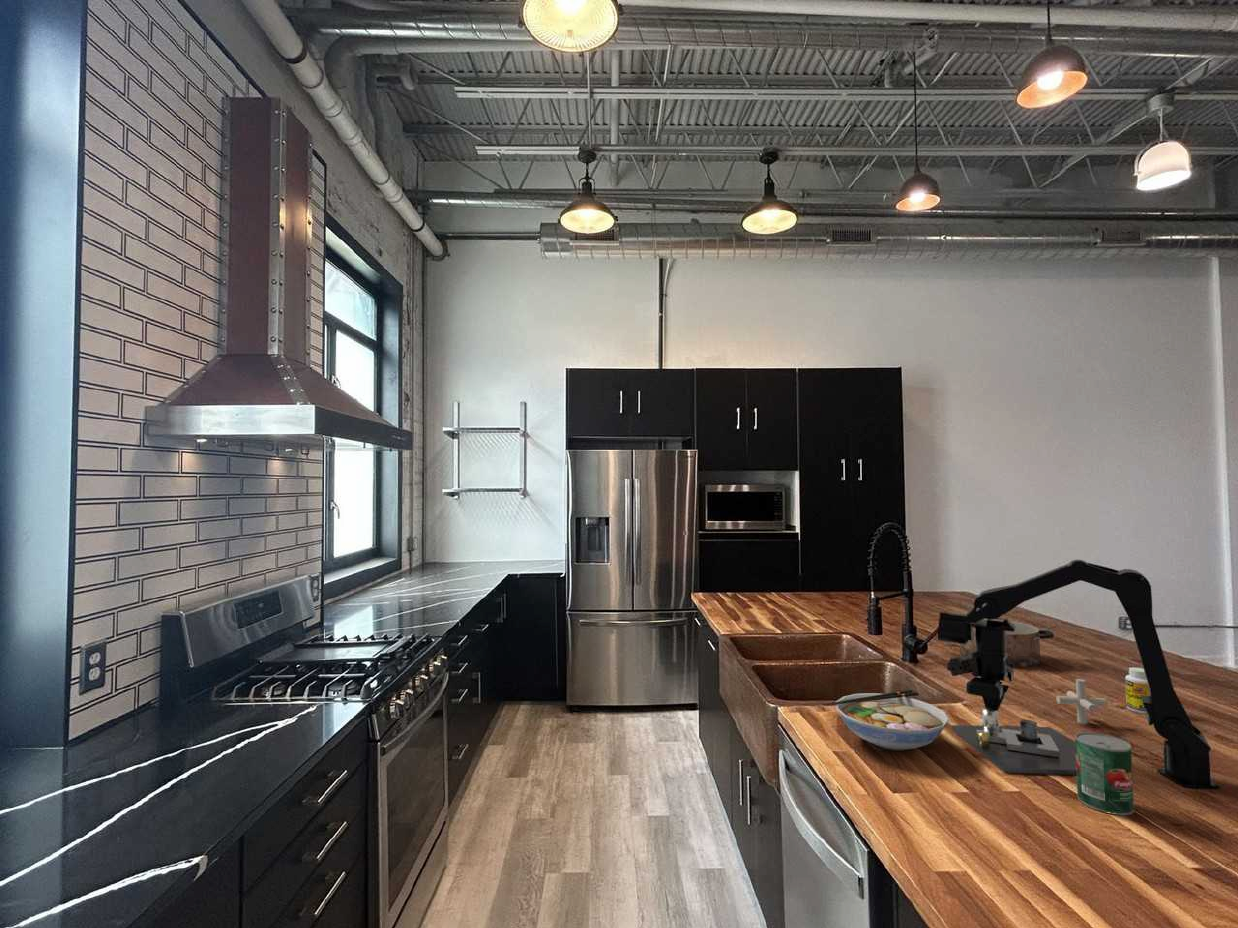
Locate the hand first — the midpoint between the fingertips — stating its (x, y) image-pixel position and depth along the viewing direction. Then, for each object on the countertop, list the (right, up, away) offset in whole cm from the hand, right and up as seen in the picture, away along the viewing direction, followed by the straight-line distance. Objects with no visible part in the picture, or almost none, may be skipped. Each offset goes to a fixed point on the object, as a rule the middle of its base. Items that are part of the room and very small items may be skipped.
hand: (991, 718), depth 135 cm
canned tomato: (+3, -4, -28) cm, 28 cm away
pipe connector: (+28, -5, +10) cm, 30 cm away
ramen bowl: (-23, -5, -2) cm, 24 cm away
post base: (+5, -4, -6) cm, 9 cm away
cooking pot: (+43, -8, +65) cm, 78 cm away
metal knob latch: (+2, -3, -5) cm, 6 cm away
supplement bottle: (+48, -6, +17) cm, 51 cm away
